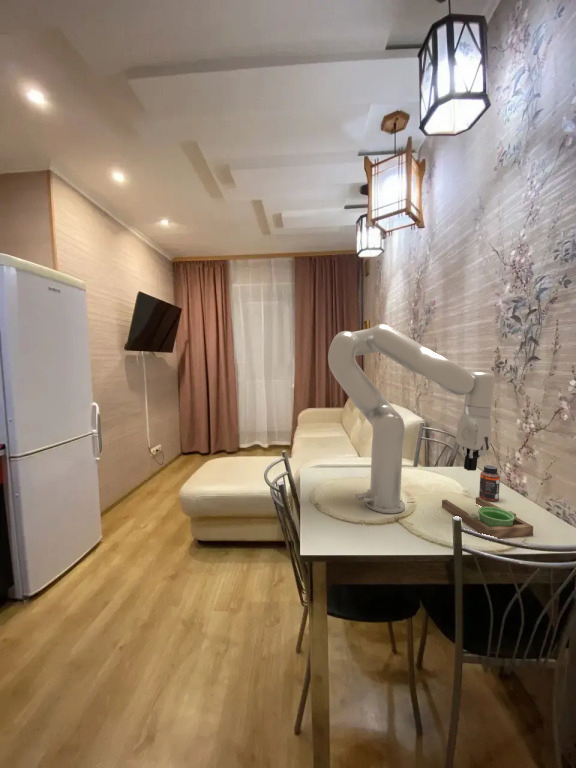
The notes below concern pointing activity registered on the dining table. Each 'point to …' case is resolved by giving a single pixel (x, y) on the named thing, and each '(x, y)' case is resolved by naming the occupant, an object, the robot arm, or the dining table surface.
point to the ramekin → (495, 517)
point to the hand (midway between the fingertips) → (469, 469)
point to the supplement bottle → (489, 483)
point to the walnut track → (500, 532)
